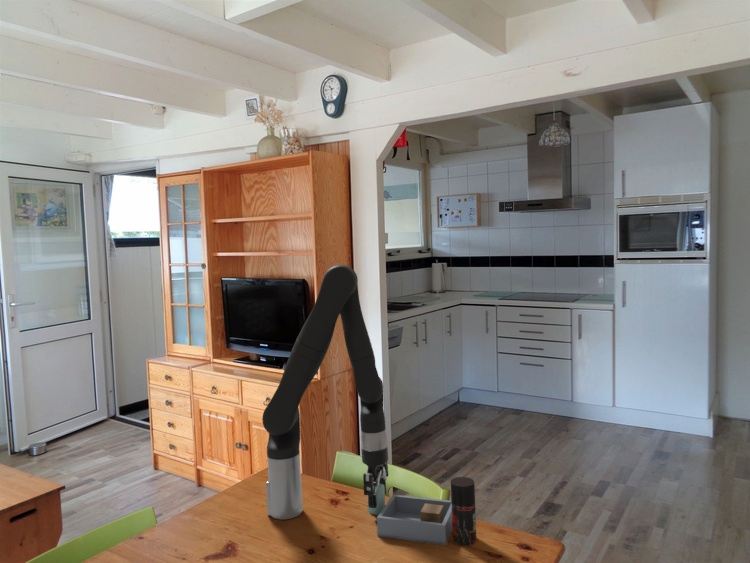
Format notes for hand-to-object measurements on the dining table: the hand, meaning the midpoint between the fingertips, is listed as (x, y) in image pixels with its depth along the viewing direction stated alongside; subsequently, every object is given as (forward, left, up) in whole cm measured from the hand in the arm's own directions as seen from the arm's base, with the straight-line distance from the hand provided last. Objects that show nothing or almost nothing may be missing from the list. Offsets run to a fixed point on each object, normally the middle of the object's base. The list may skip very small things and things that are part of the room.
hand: (377, 500), depth 158 cm
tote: (+14, -7, -3) cm, 15 cm away
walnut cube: (+18, -7, -2) cm, 19 cm away
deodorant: (+27, -10, -3) cm, 28 cm away
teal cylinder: (0, 0, -3) cm, 3 cm away
